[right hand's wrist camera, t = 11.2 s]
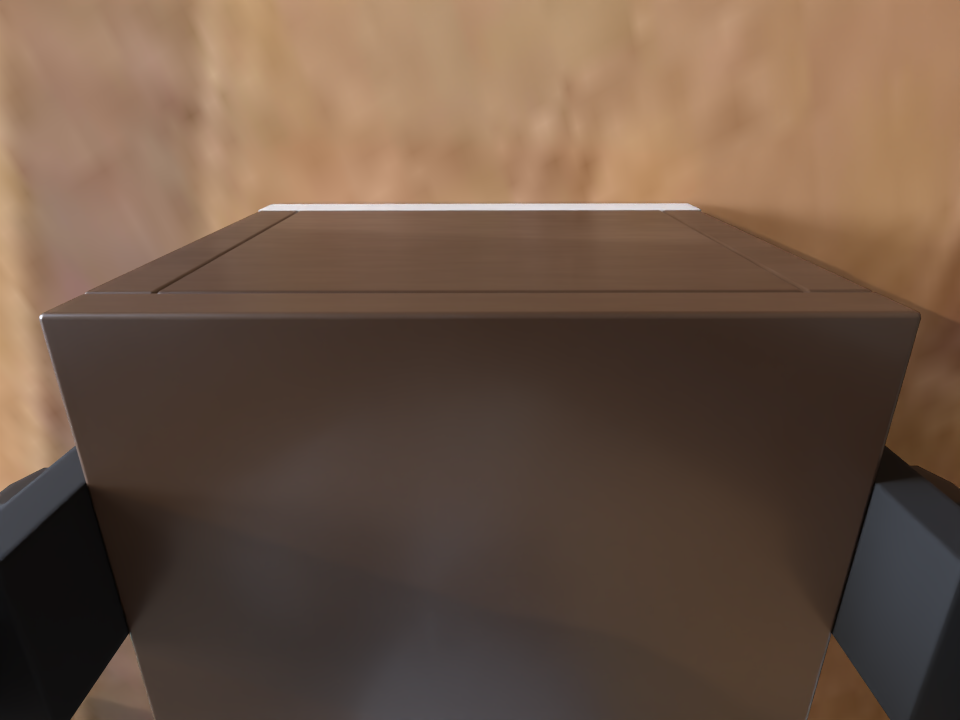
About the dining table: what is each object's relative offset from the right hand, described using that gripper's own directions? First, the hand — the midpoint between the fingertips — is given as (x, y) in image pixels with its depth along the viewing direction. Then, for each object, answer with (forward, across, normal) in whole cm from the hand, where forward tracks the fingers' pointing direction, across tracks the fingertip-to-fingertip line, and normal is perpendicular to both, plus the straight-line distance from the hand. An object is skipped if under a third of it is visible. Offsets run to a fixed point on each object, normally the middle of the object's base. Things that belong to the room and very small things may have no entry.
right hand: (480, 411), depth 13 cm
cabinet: (+4, 0, -3) cm, 5 cm away
